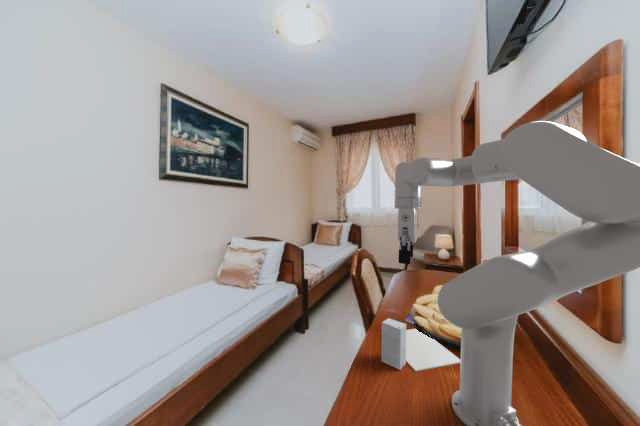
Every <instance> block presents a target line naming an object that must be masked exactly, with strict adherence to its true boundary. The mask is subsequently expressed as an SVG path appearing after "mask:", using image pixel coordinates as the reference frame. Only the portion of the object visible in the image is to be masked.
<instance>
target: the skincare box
mask: <svg viewBox="0 0 640 426" xmlns="http://www.w3.org/2000/svg"><path fill="white" fill-rule="evenodd" d="M406 330H407V323H405V322H401V321H398V320H395V319H392V318H389V317H388V318H387V319H385V320H383V321H381V333H382V335H381V362H382V363H384V364H387V365H389V366H390V367H393V368H395V369H397V370H399V371H401V370H402V368H403V367H404V366H405V365H406V364H407V362H406Z"/></svg>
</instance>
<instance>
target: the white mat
mask: <svg viewBox="0 0 640 426" xmlns="http://www.w3.org/2000/svg"><path fill="white" fill-rule="evenodd" d="M380 336H382V332H381V333H380ZM430 337H431V336H430ZM430 337H428V336H427V335H425V334H423V333H422V332H419V331H418V330H417V329H416V328H411V329H406V364H408V365H409V366H410V368H412V370H413V371H414V372H420V371H422V372H423V371H425V370H426V371H427V370H432V369H437V368H442V367H447V366H452V365H456V364H457V365H459V364H460V362H461V358H459V357H458V356H456V355H455V354H454V353H453V352H451V351H450V350H448V348H446V347H445V346H443V345H442V344H441V343H439V342H438V341H437V340H436V339H434V338H433V337H432V338H433V339H432V338H430Z"/></svg>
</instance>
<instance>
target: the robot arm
mask: <svg viewBox="0 0 640 426" xmlns="http://www.w3.org/2000/svg"><path fill="white" fill-rule="evenodd" d="M394 175H395V177H394V180H395V181H394V182H395V183H394V209H395V210H396V209H398V212H397V240H398V242H399V248H398V264H402V265H411V259H412V258H413V257H414V244H415V243H416V242H417V241H418V210H421V209H422V186H425V187H446V188H447V187H458V186H468V185H469V186H470V185H476V184H485V183H495V182H504V181H514V180H515V181H516V180H522V181H523V182H525V183H526V184H527V185H529V186H530V187H532V188H533V189H535V190H536V191H538V193H540V194H542V195H543V196H544V197H546V198H547V199H549V200H550V201H552V202H553V203H555V204H556V205H558V206H559V207H561V208H562V209H564V210H565V211H567V212H569V213H570V214H572V215H573V216H575V217H577V218H580V219H581V220H585V221H586V222H584V223H582V224H581V225H580V226H577V227H575V228H572V229H570V230H568V231H566V232H563V233H562V234H560V235H558V236H557V237H555V238H553V239H550V240H549V241H547V242H545V243H542V244H541V245H538V246H536V247H534V248H531V249H529V250H526V251H525V250H524V251H520V252H515V253H508V254H502V255H499V256H495V257H491V258H489V259H487V260H485V261H483V262H481V263H479V264H477V265H476V266H473V267H472V268H470V269H468V270H467V271H464V272H463V273H461V274H459V275H457V276H455V277H454V278H452V279H450V280H449V281H447V282H445V283H444V284H443V285H442V287H440V289H439V292H438V295H437V306H438V309H439V312H440V313H441V315H442V316H443V318H444V320H446V321H447V322H448V323H450V324H451V325H453V326H455V327H457V328H460V329H461V336H460V360H461V362H460V363H459V365H460V366H459V369H460V370H459V371H460V373H459V389H458V390H456V391H455V392H453V394H452V396H451V406H452V409H453V412H454V413H455V415H456V416H457V417H458V418H459V420H460V421H461V422H463V424H464V425H465V426H523V425H522V424H520V421H519V418H518V417H517V410H516V409H515V408H513V406H512V390H513V389H512V387H513V363H514V362H513V361H514V360H513V359H514V358H513V357H514V344H515V343H514V341H515V333H516V326H517V322H518V317H519V315H523V314H525V313H528V312H532V311H534V310H536V309H539V308H542V307H544V306H547V305H550V304H552V303H554V302H556V301H558V300H560V299H561V298H563V297H565V296H568V295H570V294H573V293H576V292H577V291H580V290H583V289H586V288H589V287H592V286H595V285H597V284H601V283H603V282H605V281H608V280H611V279H614V278H616V277H619V276H622V275H624V274H627V273H630V272H632V271H634V270H637V269H639V268H640V163H637V162H633V161H631V160H630V159H626V158H624V157H622V156H620V155H617V154H615V153H613V152H611V151H609V150H606V149H604V148H602V147H600V146H598V145H596V144H594V143H592V142H589V141H587V139H586V137H585V136H584V135H583V133H581V132H580V131H579V130H576V129H574V128H572V127H569V126H565V125H563V124H559V123H556V122H552V121H548V120H547V121H546V120H537V121H530V122H526V123H524V124H521V125H519V126H517V127H516V128H513V130H511V131H510V132H509V133H508V134H507V135H506V136H505V137H504V138H503V139H499V140H493V141H489V142H484V143H482V144H479V145H478V146H476V147H475V148H474V150H473V151H472V154H471V155H469V156H463V157H459V158H454V159H444V158H435V157H425V156H424V157H418V158H415V159H413V160H411V161H403V162H399V163H397V164H396V166H395V174H394Z"/></svg>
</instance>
